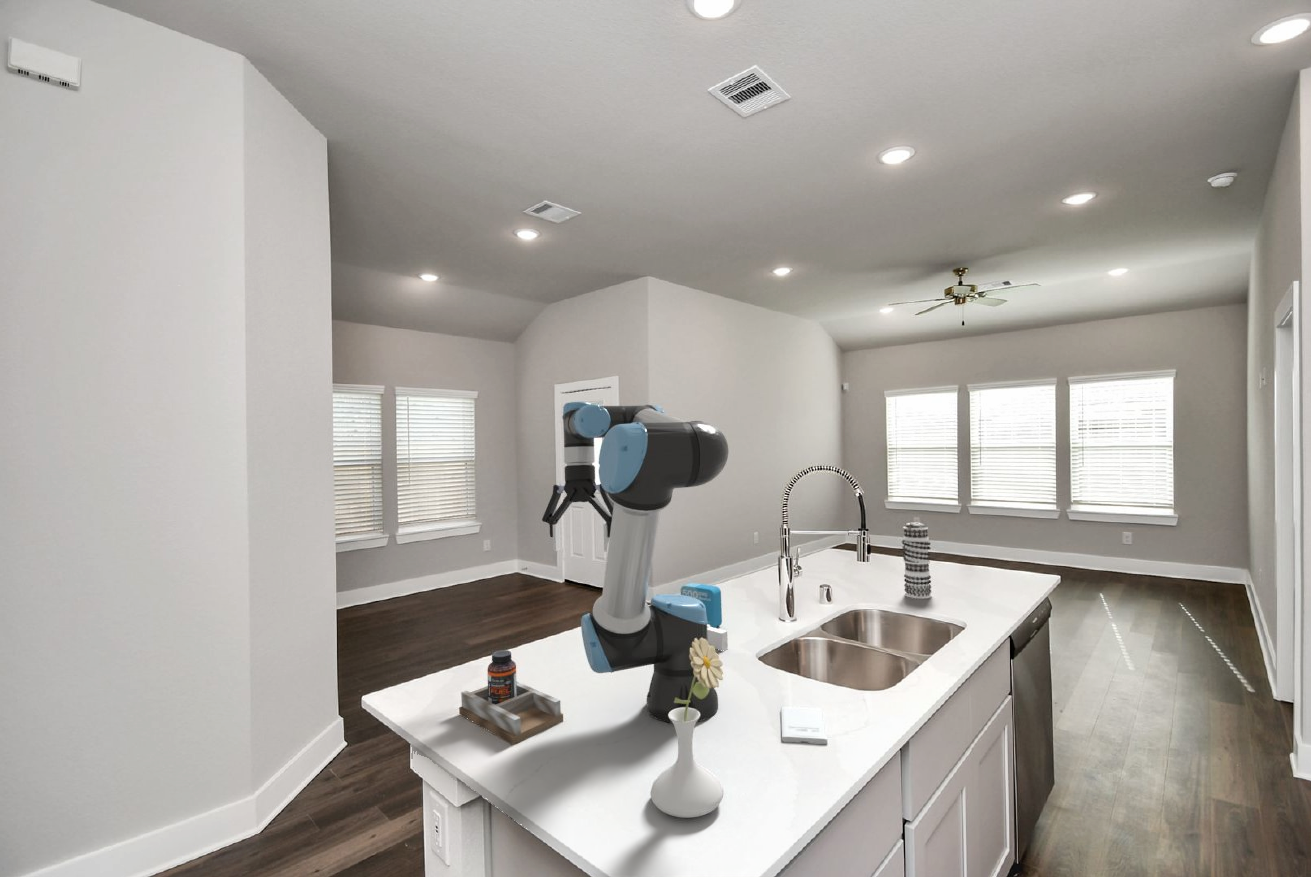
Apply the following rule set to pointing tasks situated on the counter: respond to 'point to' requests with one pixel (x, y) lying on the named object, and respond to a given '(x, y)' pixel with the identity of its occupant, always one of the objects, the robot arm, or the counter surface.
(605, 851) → the counter surface
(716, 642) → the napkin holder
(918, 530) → the decorative candle
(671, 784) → the flower in vase
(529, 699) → the wooden divided tray
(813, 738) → the external hard drive
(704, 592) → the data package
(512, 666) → the supplement bottle
